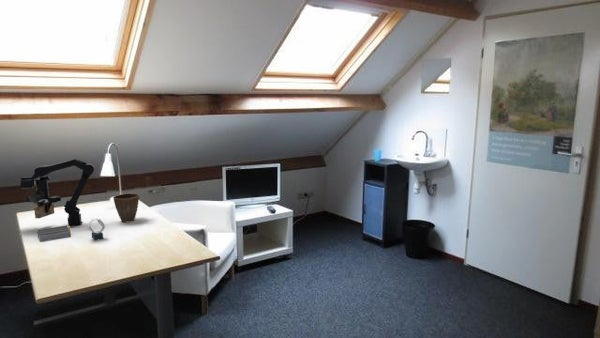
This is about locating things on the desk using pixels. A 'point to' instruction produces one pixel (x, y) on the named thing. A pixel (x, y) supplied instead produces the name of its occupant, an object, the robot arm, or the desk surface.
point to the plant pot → (126, 206)
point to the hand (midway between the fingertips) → (44, 213)
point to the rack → (54, 233)
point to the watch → (97, 234)
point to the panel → (43, 211)
